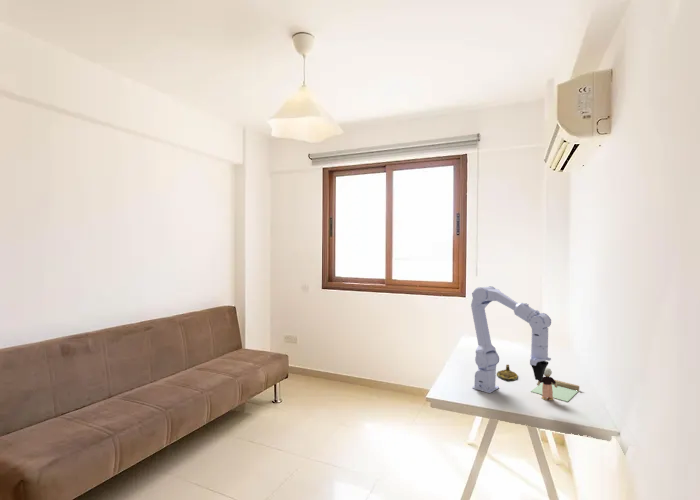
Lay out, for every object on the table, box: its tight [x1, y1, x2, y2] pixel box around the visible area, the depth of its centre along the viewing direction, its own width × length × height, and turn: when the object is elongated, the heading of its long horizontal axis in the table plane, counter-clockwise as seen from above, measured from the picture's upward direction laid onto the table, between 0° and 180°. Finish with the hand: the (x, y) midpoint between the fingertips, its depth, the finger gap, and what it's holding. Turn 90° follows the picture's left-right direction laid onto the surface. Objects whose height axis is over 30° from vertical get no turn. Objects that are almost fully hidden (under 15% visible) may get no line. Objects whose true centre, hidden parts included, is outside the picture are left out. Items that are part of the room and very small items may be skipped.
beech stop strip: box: [552, 379, 580, 392], centre depth 164 cm, size 2×14×2 cm, turn 45°
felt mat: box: [530, 383, 579, 403], centre depth 158 cm, size 16×14×1 cm
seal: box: [496, 364, 519, 382], centre depth 176 cm, size 9×5×15 cm
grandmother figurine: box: [536, 367, 558, 401], centre depth 150 cm, size 8×4×13 cm, turn 92°
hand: (538, 379), depth 143 cm, fingers closed
